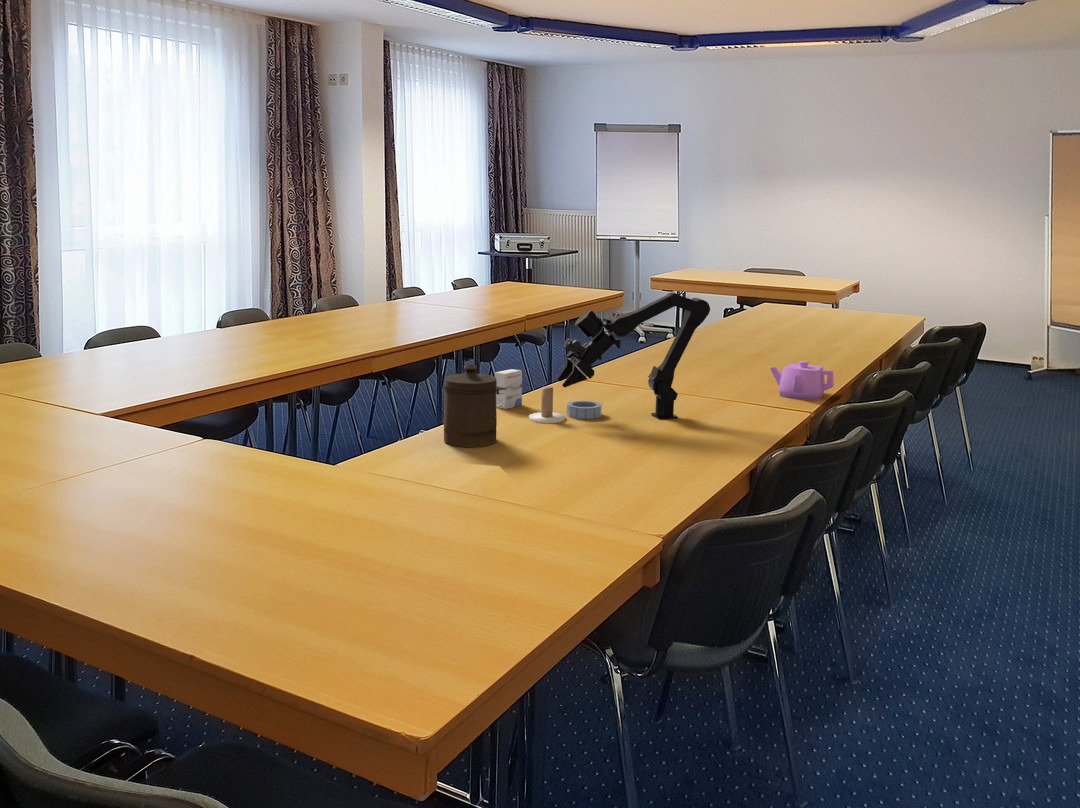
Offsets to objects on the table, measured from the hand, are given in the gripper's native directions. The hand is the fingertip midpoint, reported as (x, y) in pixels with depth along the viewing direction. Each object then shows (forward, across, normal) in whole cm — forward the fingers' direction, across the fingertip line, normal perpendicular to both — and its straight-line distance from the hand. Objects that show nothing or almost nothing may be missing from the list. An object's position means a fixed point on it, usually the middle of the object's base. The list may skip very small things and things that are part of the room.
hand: (560, 383), depth 295 cm
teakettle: (-56, -27, +71) cm, 94 cm away
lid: (+11, 0, +5) cm, 12 cm away
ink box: (+18, -19, -2) cm, 26 cm away
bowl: (+2, -4, +14) cm, 14 cm away
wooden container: (+29, +24, -13) cm, 40 cm away
